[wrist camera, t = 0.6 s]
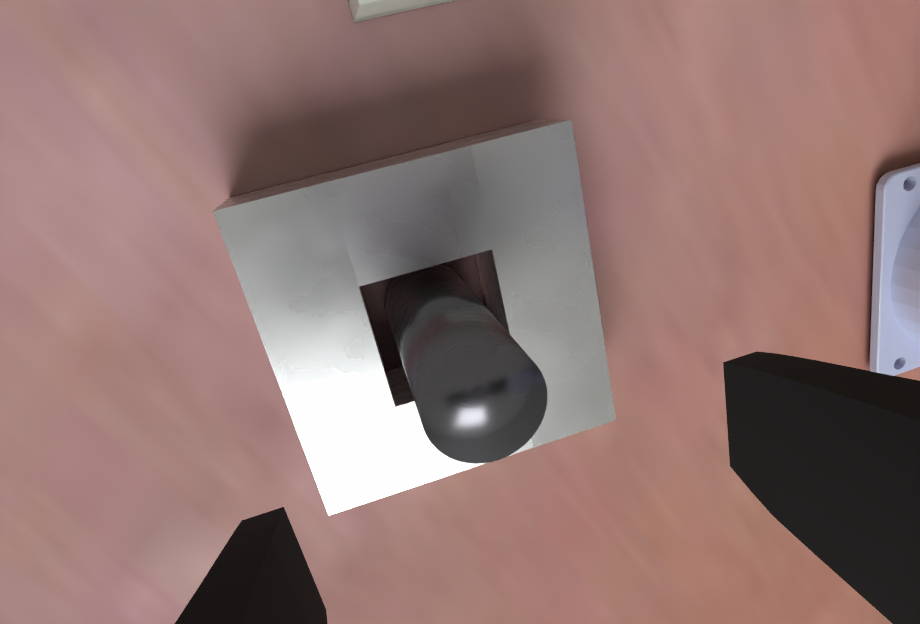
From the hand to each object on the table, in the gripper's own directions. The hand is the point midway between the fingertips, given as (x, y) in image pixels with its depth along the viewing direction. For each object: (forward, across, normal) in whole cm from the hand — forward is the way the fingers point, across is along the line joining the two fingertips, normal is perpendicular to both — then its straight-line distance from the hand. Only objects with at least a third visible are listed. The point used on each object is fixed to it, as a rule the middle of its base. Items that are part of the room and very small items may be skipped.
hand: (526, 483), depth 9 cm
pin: (+10, 0, 0) cm, 10 cm away
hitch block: (+10, 0, 0) cm, 10 cm away
